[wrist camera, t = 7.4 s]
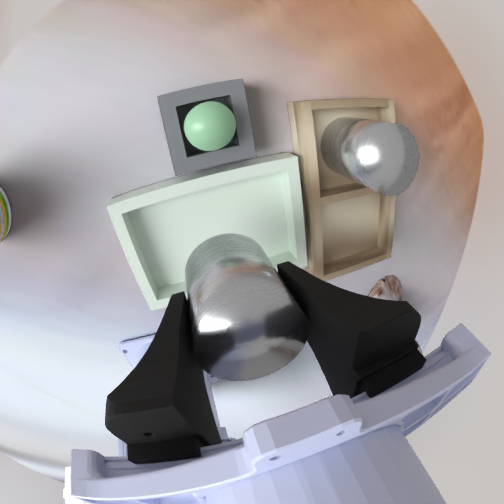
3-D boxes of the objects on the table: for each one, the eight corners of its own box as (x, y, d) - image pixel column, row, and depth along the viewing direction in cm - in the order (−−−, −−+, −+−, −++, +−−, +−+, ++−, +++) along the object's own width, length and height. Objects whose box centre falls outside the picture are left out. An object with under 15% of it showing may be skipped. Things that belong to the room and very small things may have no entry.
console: (246, 151, 18) (256, 156, 16) (176, 168, 17) (175, 176, 15) (234, 83, 16) (242, 78, 13) (160, 99, 15) (157, 96, 13)
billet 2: (370, 170, 20) (417, 190, 15) (323, 179, 19) (366, 202, 15) (367, 115, 18) (418, 123, 13) (317, 118, 17) (364, 124, 12)
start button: (233, 141, 16) (240, 144, 14) (189, 152, 16) (190, 156, 14) (224, 99, 15) (231, 97, 13) (179, 109, 14) (179, 108, 12)
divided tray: (375, 245, 25) (390, 257, 23) (305, 268, 24) (317, 283, 22) (374, 98, 18) (393, 99, 16) (286, 102, 17) (301, 101, 15)
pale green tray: (297, 254, 23) (307, 266, 22) (152, 295, 21) (151, 310, 20) (286, 152, 19) (297, 156, 17) (112, 197, 17) (106, 206, 15)
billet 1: (272, 292, 16) (309, 360, 12) (198, 314, 16) (212, 390, 11) (261, 223, 14) (307, 282, 9) (173, 247, 13) (177, 320, 9)
